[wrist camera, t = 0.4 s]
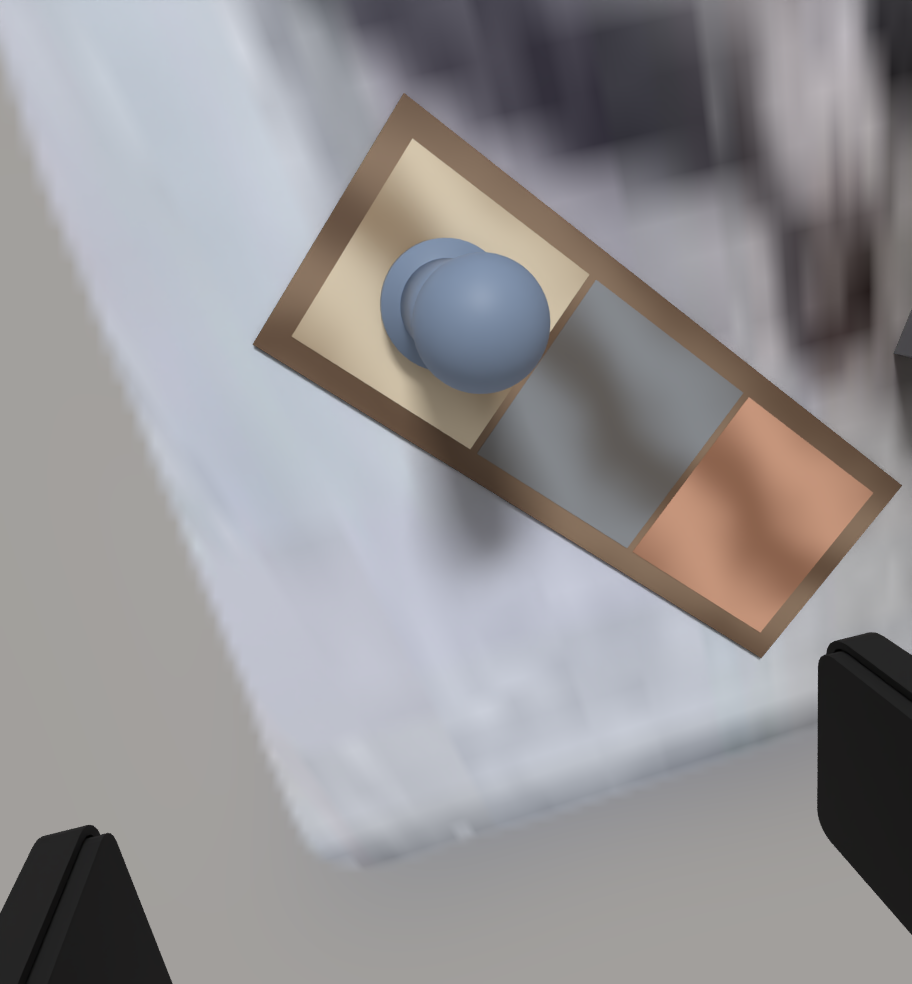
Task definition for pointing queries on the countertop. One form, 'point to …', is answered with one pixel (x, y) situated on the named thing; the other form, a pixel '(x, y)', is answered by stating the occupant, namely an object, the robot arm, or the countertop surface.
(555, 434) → the board
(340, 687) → the countertop surface
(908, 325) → the die
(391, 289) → the pawn
